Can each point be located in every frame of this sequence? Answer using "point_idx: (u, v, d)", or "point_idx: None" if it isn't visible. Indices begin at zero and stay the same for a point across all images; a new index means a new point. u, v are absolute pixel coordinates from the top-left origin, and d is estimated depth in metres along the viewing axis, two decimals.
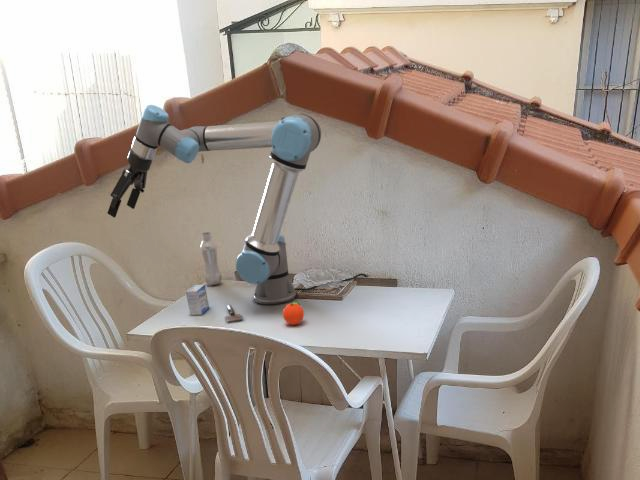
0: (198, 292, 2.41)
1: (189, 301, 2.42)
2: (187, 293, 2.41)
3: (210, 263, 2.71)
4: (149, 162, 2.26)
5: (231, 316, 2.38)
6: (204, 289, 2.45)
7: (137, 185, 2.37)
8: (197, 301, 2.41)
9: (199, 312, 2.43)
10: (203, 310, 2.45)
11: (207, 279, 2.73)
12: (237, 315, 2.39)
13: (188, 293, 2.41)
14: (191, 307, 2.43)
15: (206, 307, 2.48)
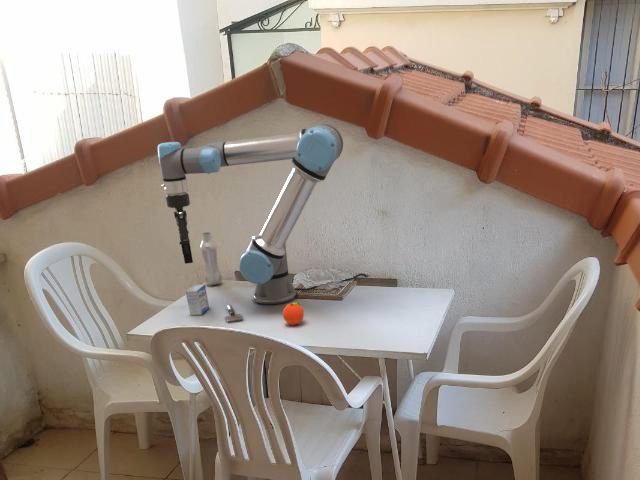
0: (198, 292, 2.41)
1: (189, 301, 2.42)
2: (187, 293, 2.41)
3: (210, 263, 2.71)
4: (188, 194, 2.28)
5: (231, 316, 2.38)
6: (204, 289, 2.45)
7: None
8: (197, 301, 2.41)
9: (199, 312, 2.43)
10: (203, 310, 2.45)
11: (207, 279, 2.73)
12: (237, 315, 2.39)
13: (188, 293, 2.41)
14: (191, 307, 2.43)
15: (206, 307, 2.48)
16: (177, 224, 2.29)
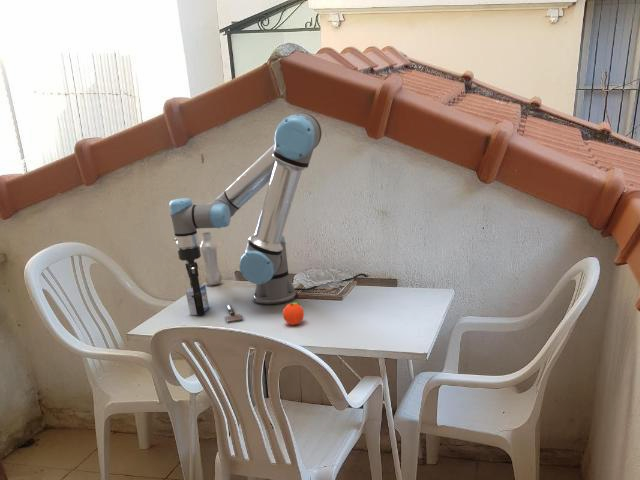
0: None
1: (189, 301, 2.42)
2: (187, 293, 2.41)
3: (210, 263, 2.71)
4: (199, 247, 2.36)
5: (231, 316, 2.38)
6: (204, 289, 2.45)
7: None
8: None
9: None
10: None
11: (207, 279, 2.73)
12: (237, 315, 2.39)
13: (188, 293, 2.41)
14: (191, 307, 2.43)
15: (206, 307, 2.48)
16: (189, 277, 2.38)
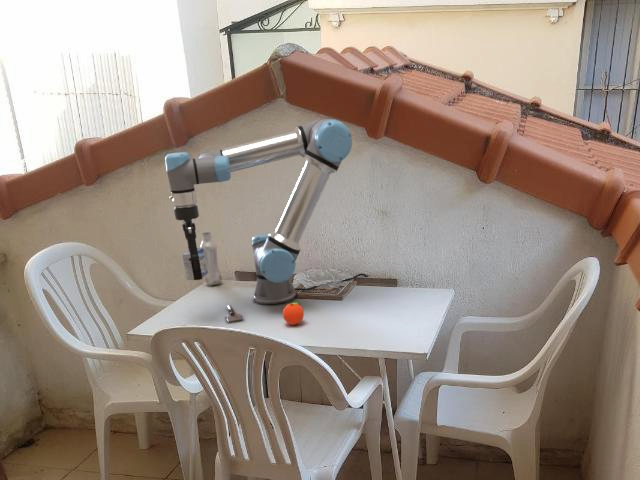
0: None
1: (186, 265, 2.26)
2: (184, 256, 2.25)
3: (210, 263, 2.71)
4: (196, 206, 2.20)
5: (231, 316, 2.38)
6: (202, 253, 2.29)
7: None
8: None
9: None
10: None
11: (207, 279, 2.73)
12: (237, 315, 2.39)
13: (185, 256, 2.24)
14: (187, 271, 2.27)
15: (204, 272, 2.31)
16: (186, 238, 2.22)
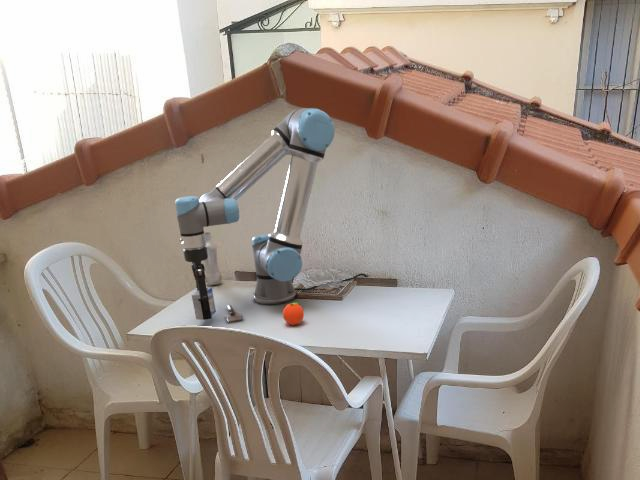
0: None
1: (195, 305, 2.29)
2: (193, 296, 2.28)
3: (210, 263, 2.71)
4: (206, 248, 2.24)
5: (231, 316, 2.38)
6: (211, 292, 2.33)
7: None
8: None
9: None
10: None
11: (207, 279, 2.73)
12: (237, 315, 2.39)
13: (194, 296, 2.28)
14: (197, 311, 2.30)
15: (213, 311, 2.35)
16: (195, 279, 2.25)
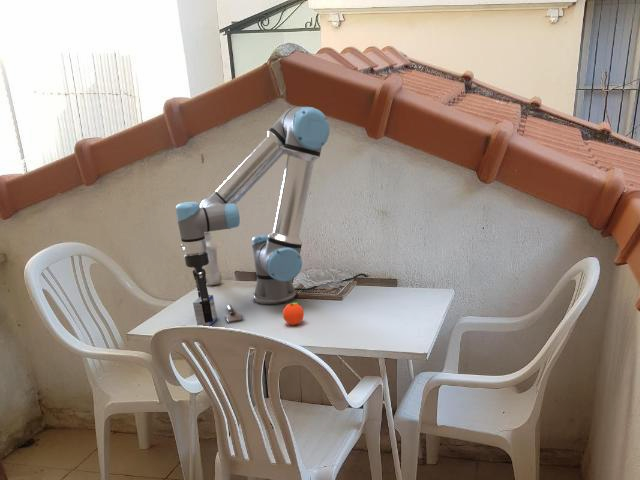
0: None
1: (196, 312, 2.30)
2: (194, 304, 2.29)
3: (210, 263, 2.71)
4: (207, 253, 2.24)
5: (231, 316, 2.38)
6: (212, 299, 2.34)
7: None
8: None
9: (207, 324, 2.32)
10: None
11: (207, 279, 2.73)
12: (237, 315, 2.39)
13: (195, 304, 2.29)
14: (198, 318, 2.31)
15: (214, 318, 2.36)
16: (196, 283, 2.25)
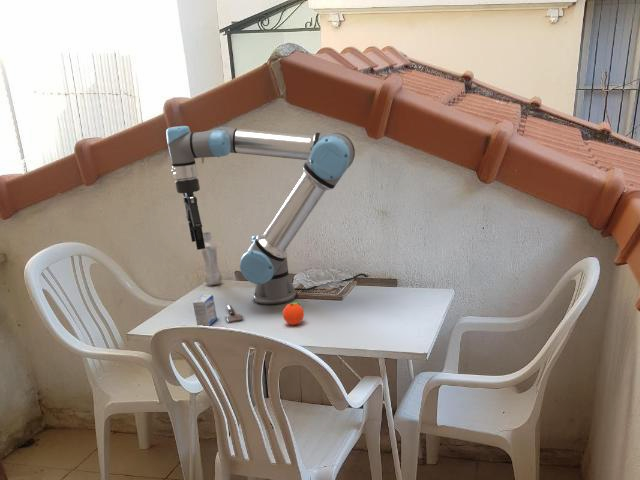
0: (206, 303, 2.29)
1: (196, 312, 2.30)
2: (194, 304, 2.29)
3: (210, 263, 2.71)
4: (197, 179, 2.25)
5: (231, 316, 2.38)
6: (212, 299, 2.34)
7: None
8: (205, 312, 2.30)
9: (207, 324, 2.32)
10: (211, 321, 2.33)
11: (207, 279, 2.73)
12: (237, 315, 2.39)
13: (195, 304, 2.29)
14: (198, 318, 2.31)
15: (214, 318, 2.36)
16: (188, 210, 2.26)
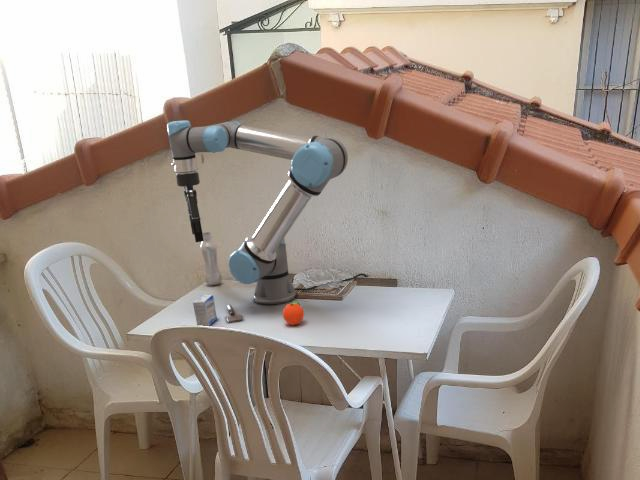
0: (206, 303, 2.29)
1: (196, 312, 2.30)
2: (194, 304, 2.29)
3: (210, 263, 2.71)
4: (197, 173, 2.29)
5: (231, 316, 2.38)
6: (212, 299, 2.34)
7: None
8: (205, 312, 2.30)
9: (207, 324, 2.32)
10: (211, 321, 2.33)
11: (207, 279, 2.73)
12: (237, 315, 2.39)
13: (195, 304, 2.29)
14: (198, 318, 2.31)
15: (214, 318, 2.36)
16: (187, 203, 2.30)
